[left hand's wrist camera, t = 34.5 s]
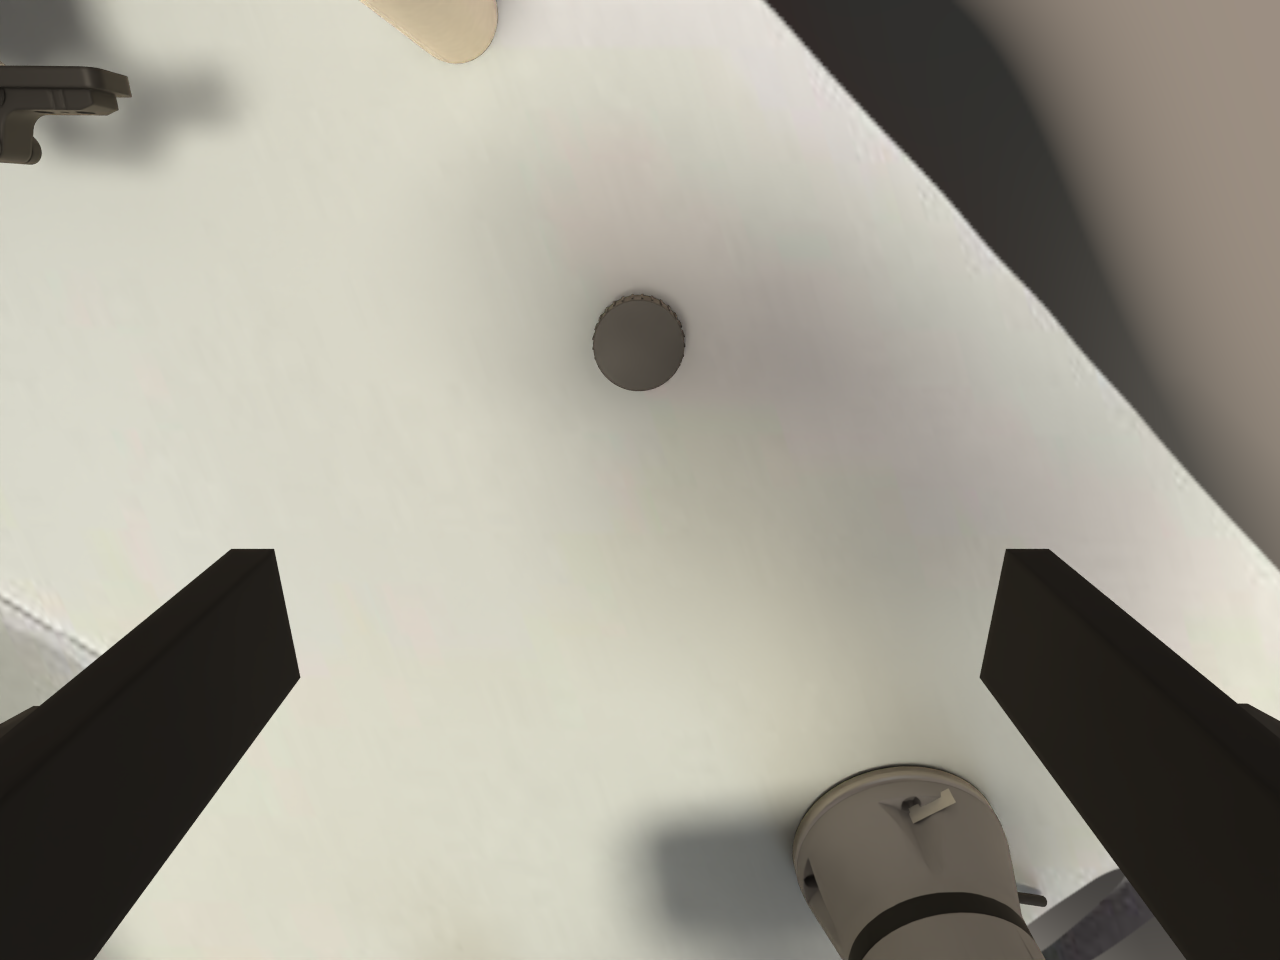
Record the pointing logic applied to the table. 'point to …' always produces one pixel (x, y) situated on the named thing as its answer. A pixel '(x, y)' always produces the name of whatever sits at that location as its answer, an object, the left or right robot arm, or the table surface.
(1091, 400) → the table surface
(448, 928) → the table surface
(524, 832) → the table surface
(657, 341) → the lid
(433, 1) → the cream cylindrical bottle
